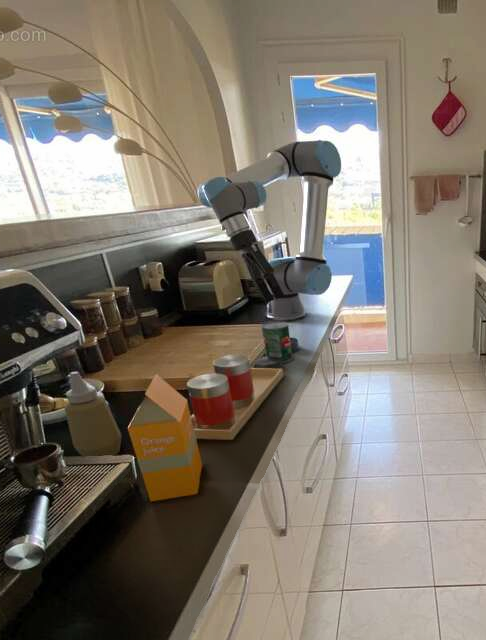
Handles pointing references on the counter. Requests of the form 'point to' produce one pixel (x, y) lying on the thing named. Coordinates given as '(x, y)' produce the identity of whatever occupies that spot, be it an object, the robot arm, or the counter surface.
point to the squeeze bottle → (90, 420)
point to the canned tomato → (277, 340)
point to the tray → (262, 386)
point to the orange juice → (166, 443)
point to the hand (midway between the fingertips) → (275, 299)
